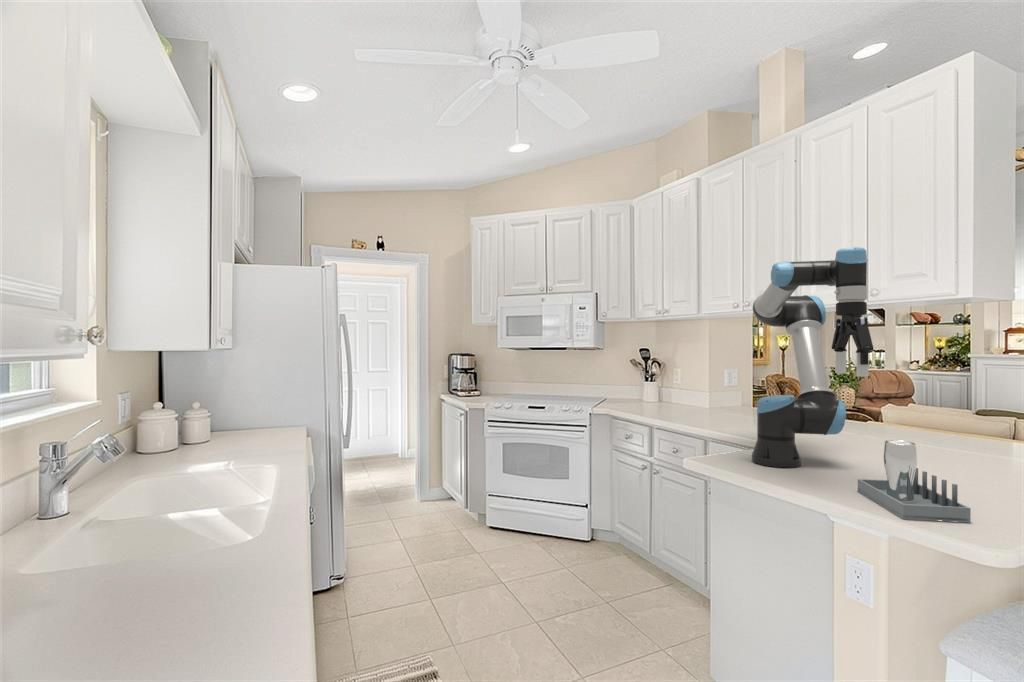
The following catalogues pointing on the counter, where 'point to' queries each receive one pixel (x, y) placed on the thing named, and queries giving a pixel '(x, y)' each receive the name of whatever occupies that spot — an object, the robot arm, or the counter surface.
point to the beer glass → (900, 469)
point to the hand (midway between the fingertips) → (851, 375)
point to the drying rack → (918, 500)
